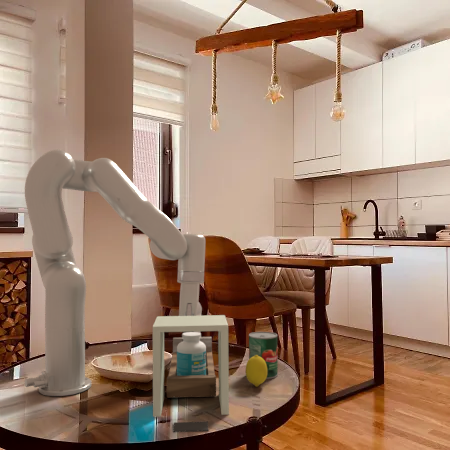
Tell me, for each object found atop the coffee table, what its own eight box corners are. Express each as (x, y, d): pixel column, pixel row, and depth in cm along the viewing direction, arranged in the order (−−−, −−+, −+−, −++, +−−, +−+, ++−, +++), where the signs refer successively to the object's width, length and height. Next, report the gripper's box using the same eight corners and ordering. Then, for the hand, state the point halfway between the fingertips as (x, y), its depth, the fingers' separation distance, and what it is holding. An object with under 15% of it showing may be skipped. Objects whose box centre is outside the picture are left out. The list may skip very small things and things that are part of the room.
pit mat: (208, 431, 92) (208, 429, 92) (172, 432, 92) (172, 430, 92) (207, 422, 96) (207, 421, 96) (173, 423, 96) (173, 422, 96)
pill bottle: (195, 394, 114) (194, 338, 114) (170, 388, 117) (170, 335, 118) (211, 385, 120) (211, 332, 120) (188, 380, 124) (187, 329, 124)
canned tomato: (252, 369, 133) (252, 330, 133) (279, 371, 131) (279, 332, 131) (246, 378, 126) (245, 337, 126) (275, 380, 123) (274, 338, 124)
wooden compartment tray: (216, 396, 111) (215, 367, 111) (166, 397, 110) (166, 368, 110) (211, 359, 142) (211, 336, 143) (173, 360, 142) (173, 337, 142)
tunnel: (228, 414, 101) (228, 325, 101) (153, 416, 100) (152, 326, 100) (225, 394, 113) (224, 315, 113) (157, 396, 112) (157, 316, 112)
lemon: (266, 390, 115) (265, 358, 116) (244, 389, 117) (243, 357, 117) (268, 383, 121) (268, 352, 121) (247, 382, 122) (247, 351, 122)
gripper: (178, 275, 141) (175, 336, 140) (176, 279, 126) (173, 348, 125) (203, 275, 141) (200, 337, 140) (204, 280, 126) (201, 348, 125)
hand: (187, 342), depth 133 cm, fingers closed
